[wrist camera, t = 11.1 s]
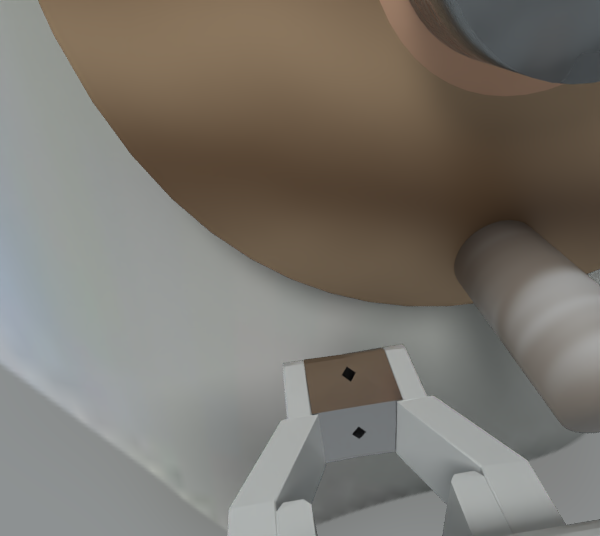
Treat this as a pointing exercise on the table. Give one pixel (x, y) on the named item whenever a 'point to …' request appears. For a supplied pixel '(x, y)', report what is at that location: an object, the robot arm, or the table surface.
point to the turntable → (366, 161)
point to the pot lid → (521, 35)
